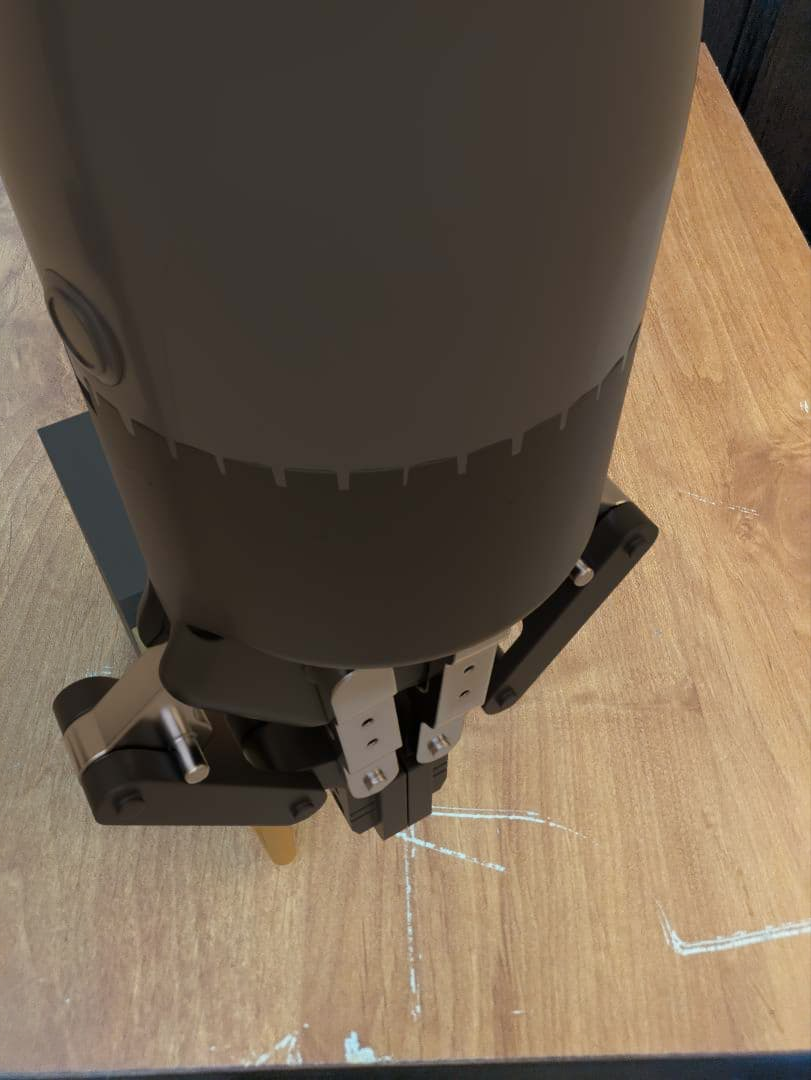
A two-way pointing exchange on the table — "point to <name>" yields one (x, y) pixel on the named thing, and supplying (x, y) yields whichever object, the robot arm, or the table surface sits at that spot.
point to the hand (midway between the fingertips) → (387, 799)
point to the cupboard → (98, 512)
